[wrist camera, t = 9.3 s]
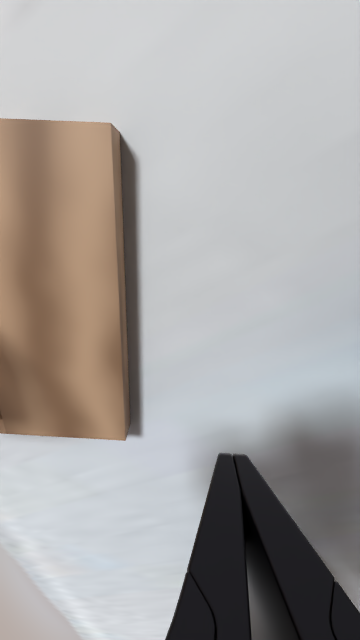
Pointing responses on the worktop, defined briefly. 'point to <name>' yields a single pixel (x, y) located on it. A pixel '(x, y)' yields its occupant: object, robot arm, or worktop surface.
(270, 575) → the robot arm
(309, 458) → the worktop surface
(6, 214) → the walnut board
